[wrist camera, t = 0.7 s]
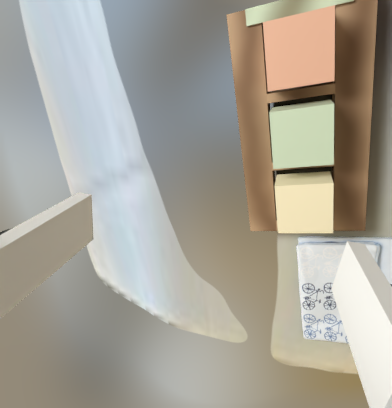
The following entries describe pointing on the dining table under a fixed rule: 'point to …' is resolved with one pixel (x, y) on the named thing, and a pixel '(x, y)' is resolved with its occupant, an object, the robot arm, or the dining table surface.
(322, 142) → the pale green square block
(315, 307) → the printed paper napkins
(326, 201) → the cream yellow square block
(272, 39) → the salmon orange square block
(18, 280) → the robot arm
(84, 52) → the dining table surface
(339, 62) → the board
